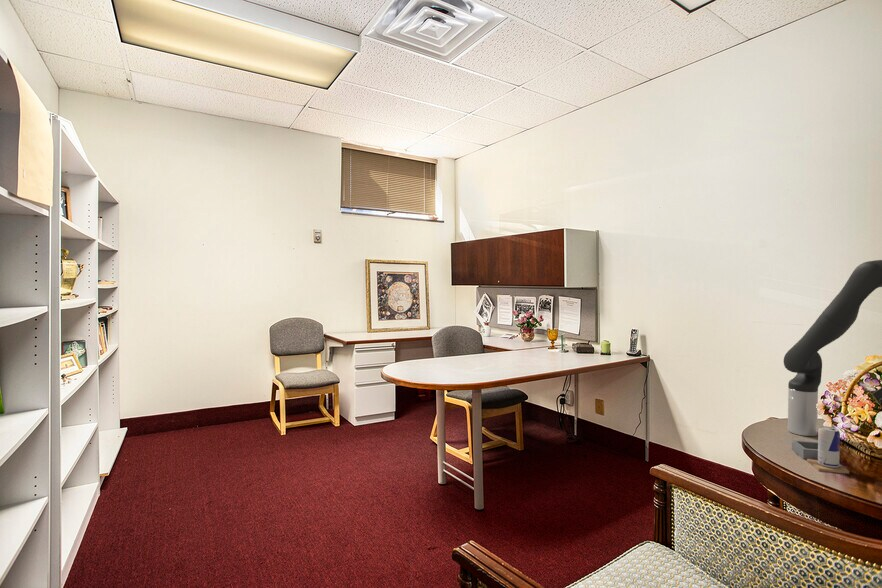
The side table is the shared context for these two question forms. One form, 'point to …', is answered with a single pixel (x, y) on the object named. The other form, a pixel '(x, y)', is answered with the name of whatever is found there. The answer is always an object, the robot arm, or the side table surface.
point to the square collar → (805, 449)
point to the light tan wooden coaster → (827, 469)
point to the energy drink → (828, 446)
